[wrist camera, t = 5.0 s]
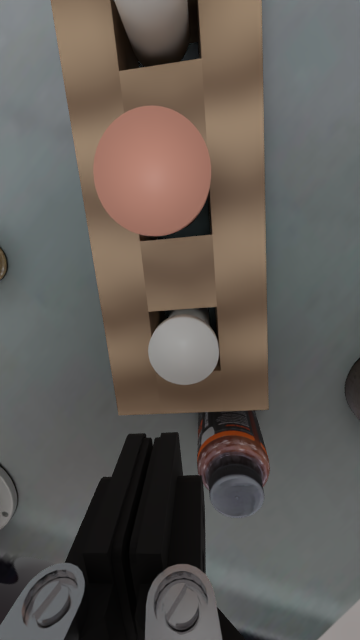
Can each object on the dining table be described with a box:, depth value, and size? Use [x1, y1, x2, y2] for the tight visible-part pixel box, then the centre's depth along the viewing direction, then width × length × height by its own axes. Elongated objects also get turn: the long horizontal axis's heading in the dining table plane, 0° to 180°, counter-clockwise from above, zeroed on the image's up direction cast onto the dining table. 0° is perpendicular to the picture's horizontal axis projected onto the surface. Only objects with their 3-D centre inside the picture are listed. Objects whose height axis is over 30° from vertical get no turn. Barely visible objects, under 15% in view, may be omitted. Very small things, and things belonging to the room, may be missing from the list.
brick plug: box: [93, 105, 211, 236], centre depth 17 cm, size 5×5×10 cm
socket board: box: [51, 0, 269, 415], centre depth 24 cm, size 32×12×8 cm, turn 5°
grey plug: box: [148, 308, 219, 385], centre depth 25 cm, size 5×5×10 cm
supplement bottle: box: [197, 410, 270, 518], centre depth 27 cm, size 6×6×11 cm
